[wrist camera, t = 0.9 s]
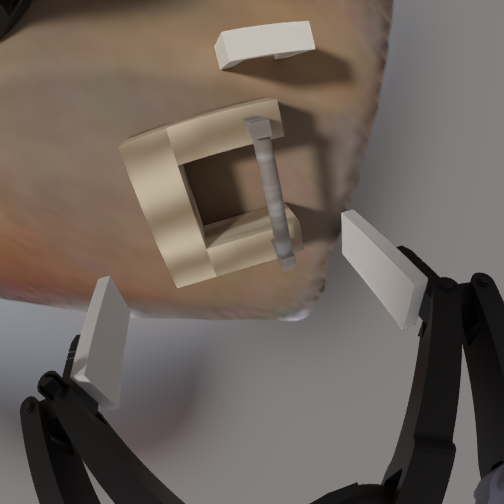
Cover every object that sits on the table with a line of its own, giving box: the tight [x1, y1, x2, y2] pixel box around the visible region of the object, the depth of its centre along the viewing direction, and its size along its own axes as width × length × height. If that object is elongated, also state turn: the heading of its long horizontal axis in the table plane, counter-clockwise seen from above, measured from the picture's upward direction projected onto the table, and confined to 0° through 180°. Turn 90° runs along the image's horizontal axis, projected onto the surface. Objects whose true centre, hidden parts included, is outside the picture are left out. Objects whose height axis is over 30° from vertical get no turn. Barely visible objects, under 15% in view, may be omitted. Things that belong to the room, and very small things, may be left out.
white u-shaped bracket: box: [214, 21, 315, 70], centre depth 23 cm, size 3×8×8 cm, turn 103°
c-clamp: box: [118, 98, 304, 288], centre depth 30 cm, size 18×16×10 cm
